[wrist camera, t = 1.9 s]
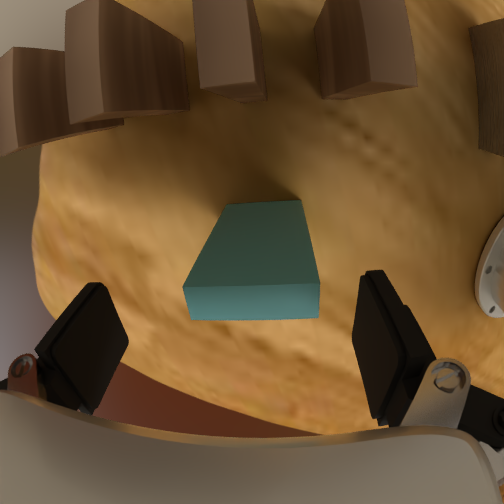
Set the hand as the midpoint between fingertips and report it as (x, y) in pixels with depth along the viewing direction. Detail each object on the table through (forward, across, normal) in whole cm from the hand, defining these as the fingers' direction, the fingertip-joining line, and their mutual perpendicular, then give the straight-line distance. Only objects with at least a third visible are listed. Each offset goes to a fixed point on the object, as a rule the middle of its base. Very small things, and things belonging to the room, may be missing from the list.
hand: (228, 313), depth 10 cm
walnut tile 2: (+11, +4, -10) cm, 15 cm away
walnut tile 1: (+11, +9, -10) cm, 17 cm away
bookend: (+10, -19, -10) cm, 24 cm away
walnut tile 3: (+11, -1, -10) cm, 15 cm away
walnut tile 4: (+11, -6, -10) cm, 16 cm away
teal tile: (+11, -1, 0) cm, 11 cm away
